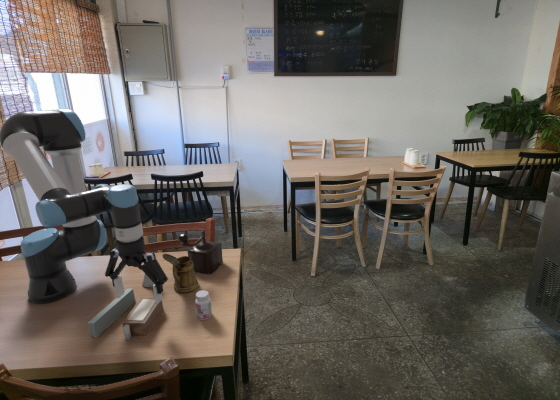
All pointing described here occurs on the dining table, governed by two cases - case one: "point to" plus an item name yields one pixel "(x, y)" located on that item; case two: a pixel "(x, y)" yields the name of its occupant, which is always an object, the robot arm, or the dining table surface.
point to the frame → (143, 316)
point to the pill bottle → (203, 305)
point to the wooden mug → (182, 273)
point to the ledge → (112, 314)
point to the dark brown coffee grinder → (203, 254)
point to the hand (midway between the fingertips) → (139, 298)
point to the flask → (147, 281)
